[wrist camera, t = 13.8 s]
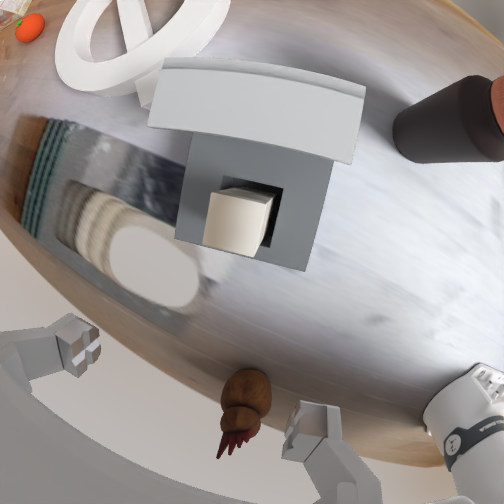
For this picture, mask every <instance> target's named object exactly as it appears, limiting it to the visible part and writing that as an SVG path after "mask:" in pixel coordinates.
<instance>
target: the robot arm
mask: <svg viewBox="0 0 504 504" xmlns="http://www.w3.org/2000/svg"><path fill="white" fill-rule="evenodd" d="M98 337H99V329H98V328H96V327H95V326H93V325H91V324H90V323H88V322H86V321H84V320H83V319H81V318H79V317H77V316H76V315H74V314H72V313H69V314H67V315H65V316H64V317H62V318H61V319H59V320H58V321H56V322H55V323H53V324H52V325H50V326H49V327H47V328H44V327H41V328H32V329H23V330H14V331H4V332H0V504H256V503H250V502H245V501H241V500H237V499H233V498H229V497H225V496H221V495H217V494H214V493H211V492H207V491H204V490H201V489H198V488H195V487H192V486H188V485H186V484H183V483H181V482H178V481H175V480H172V479H170V478H168V477H165V476H163V475H160V474H158V473H156V472H153V471H151V470H149V469H147V468H144V467H142V466H140V465H138V464H136V463H134V462H132V461H130V460H128V459H126V458H124V457H122V456H120V455H118V454H116V453H115V452H113V451H111V450H109V449H108V448H106V447H104V446H102V445H101V444H99V443H98V442H96V441H94V440H93V439H91V438H89V437H88V436H86V435H85V434H83V433H82V432H80V431H79V430H77V429H76V428H74V427H73V426H71V425H70V424H69V423H67V422H66V421H64V420H63V419H62V418H60V417H59V416H58V415H56V414H55V413H53V412H52V411H51V410H50V409H49V408H47V407H46V406H45V405H44V404H42V403H41V402H40V401H39V400H38V399H36V398H35V397H34V396H33V395H32V394H31V392H32V387H31V385H30V382H29V380H32V379H36V378H39V377H42V376H46V375H49V374H52V373H56V372H59V371H61V370H66V371H68V372H69V373H71V374H72V375H74V376H76V377H77V378H79V377H80V376H81V375H82V374H83V373H84V372H85V371H86V370H87V365H89V364H93V363H94V362H95V361H96V360H97V359H98V357H99V355H100V352H101V345H100V343H99V341H98V339H97V338H98ZM423 421H424V423H425V424H426V426H427V433H428V435H432V437H433V439H434V441H435V443H436V445H437V447H438V449H439V450H440V452H441V454H442V455H444V460H445V465H446V467H447V468H448V471H449V472H452V475H453V479H454V482H455V485H456V489H457V492H458V496H454V497H451V498H447V499H443V500H439V501H435V502H431V503H425V504H504V373H503V372H500V371H498V370H496V369H493V368H491V367H489V366H486V365H484V364H481V363H480V364H478V365H476V366H475V367H474V368H473V369H472V370H470V371H469V372H468V373H467V374H466V375H464V376H462V377H460V378H458V379H456V380H455V381H453V382H452V383H450V384H449V385H447V386H446V387H445V388H444V389H442V390H441V391H440V392H439V393H438V394H437V395H436V396H435V397H434V398H433V399H432V400H431V402H430V403H429V404H428V406H427V407H426V409H425V411H424V414H423ZM285 437H286V441H285V443H284V444H283V450H282V457H281V458H282V459H286V460H291V461H297V462H302V463H303V464H304V466H305V468H306V470H307V472H308V474H309V476H310V477H311V479H312V481H313V483H314V485H315V487H316V489H317V491H318V493H319V494H320V496H321V498H320V499H319V500H317V501H316V502H315V503H313V504H383V503H382V492H381V483H380V481H379V479H378V478H377V477H376V476H375V475H374V474H373V472H372V471H371V470H370V469H369V468H368V467H367V465H366V464H365V463H364V462H363V461H362V459H361V458H360V457H359V456H358V455H357V453H356V452H355V451H354V450H353V449H352V447H351V446H350V445H349V444H348V442H347V441H345V440H342V428H341V415H340V408H339V407H337V406H330V405H324V404H318V403H313V402H307V401H302V400H299V401H298V403H297V404H296V406H295V412H294V413H292V414H291V415H290V417H289V419H288V422H287V425H286V429H285Z"/></svg>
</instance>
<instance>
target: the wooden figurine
mask: <svg viewBox="0 0 504 504" xmlns="http://www.w3.org/2000/svg"><path fill="white" fill-rule="evenodd" d="M271 401H272V395H271V386H270V382H269V380H268V378H267V376H266V375H265V374H264V373H262V372H261V371H257V370H252V369H245V370H240V371H238V372H236V373H235V374H234V375H233V376H232V377H230V378H229V379H228V381H227V382H226V383H225V386H224V388H223V392H222V396H221V407H222V410H223V412H224V413H223V416H222V418H221V422H220V425H221V430H222V431H223V436H222V439H221V443H220V446H219V450H218V453H217V457H216V458H217V459H219V458H220V457H221V455H222V454H223V452H224V451H225V449H226V447H227V446H228V444H229V450H228V455H231V454H232V452H233V450H234V448H235V446H236V444H237V447H238V448H241V445H242V443H243V441H245V442H246V443H247V442H248V441H249V439H250V438H252V437H254V436H255V435H256V434H257V433H258V431H259V430H260V426H261V421H260V419H261V418H263V417H264V416H266V414H267V413H268V411H269V410H270V407H271Z"/></svg>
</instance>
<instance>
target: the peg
mask: <svg viewBox="0 0 504 504" xmlns="http://www.w3.org/2000/svg"><path fill="white" fill-rule="evenodd" d="M275 197H276V194H274V193H270V192H266V191H262V190H257V189H253V188H248V187H244V186H240V187H235V188H230V189H225V190H220V191H215V192H211V197H210V203H209V208H208V214H207V219H206V225H205V231H204V237H203V242H202V244H203V245H207V246H210V247H214V248H218V249H222V250H226V251H230V252H234V253H238V254H242V255H246V256H250V257H254V255H255V253H256V251H257V249H258V247H259V245H260V243H261V241H262V239H263V237H264V235H265V233H266V231H267V229H268V227H269V223H270V219H271V214H272V210H273V206H274V202H275Z"/></svg>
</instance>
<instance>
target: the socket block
mask: <svg viewBox="0 0 504 504" xmlns="http://www.w3.org/2000/svg"><path fill="white" fill-rule="evenodd" d="M365 92H366V87H365V86H362V85H359V84H356V83H353V82H349V81H346V80H343V79H339V78H335V77H332V76H328V75H324V74H320V73H316V72H311V71H307V70H302V69H297V68H292V67H286V66H281V65H275V64H268V63H261V62H253V61H244V60H234V59H221V58H198V57H172V58H165V59H164V63H163V66H162V69H161V72H160V76H159V79H158V83H157V86H156V90H155V94H154V98H153V102H152V106H151V110H150V114H149V118H148V123H147V127H151V128H156V129H168V130H178V131H187V132H193V135H192V139H191V144H190V149H189V154H188V159H187V164H186V169H185V174H184V180H183V185H182V191H181V197H180V203H179V210H178V216H177V223H176V230H175V237H174V239H177V240H181V241H185V242H189V243H193V244H197V245H201V246H204V247H208V248H212V249H216V250H220V251H224V252H228V253H232V254H236V255H240V256H244V257H248V258H252V259H256V260H260V261H264V262H268V263H272V264H276V265H280V266H284V267H288V268H292V269H296V270H300V271H304V272H305V270H306V267H307V263H308V260H309V256H310V253H311V249H312V246H313V242H314V239H315V235H316V231H317V227H318V224H319V220H320V216H321V212H322V208H323V204H324V200H325V196H326V192H327V188H328V184H329V180H330V175H331V171H332V167H333V162H334V161H337V162H340V163H344V164H347V165H351V164H352V161H353V156H354V152H355V147H356V142H357V137H358V132H359V127H360V121H361V116H362V110H363V105H364V99H365ZM234 177H235V178H240V179H244V180H249V181H254V182H258V183H263V184H267V185H272V186H276V187H280V188H284V190H283V195H282V199H281V203H280V207H279V212H278V216H277V220H276V224H275V229H274V233H273V237H271V236H267V235H264V237H263V239H262V241H261V243H260V245H259V247H258V249H257V251H256V253H255V255H254V257H250V256H246V255H242V254H238V253H234V252H230V251H226V250H222V249H218V248H214V247H210V246H207V245H203V244H202V242H203V237H204V231H205V225H206V219H207V214H208V208H209V203H210V197H211V192H215V191H220V190H225V189H230V188H231V187H232V183H233V178H234Z"/></svg>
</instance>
